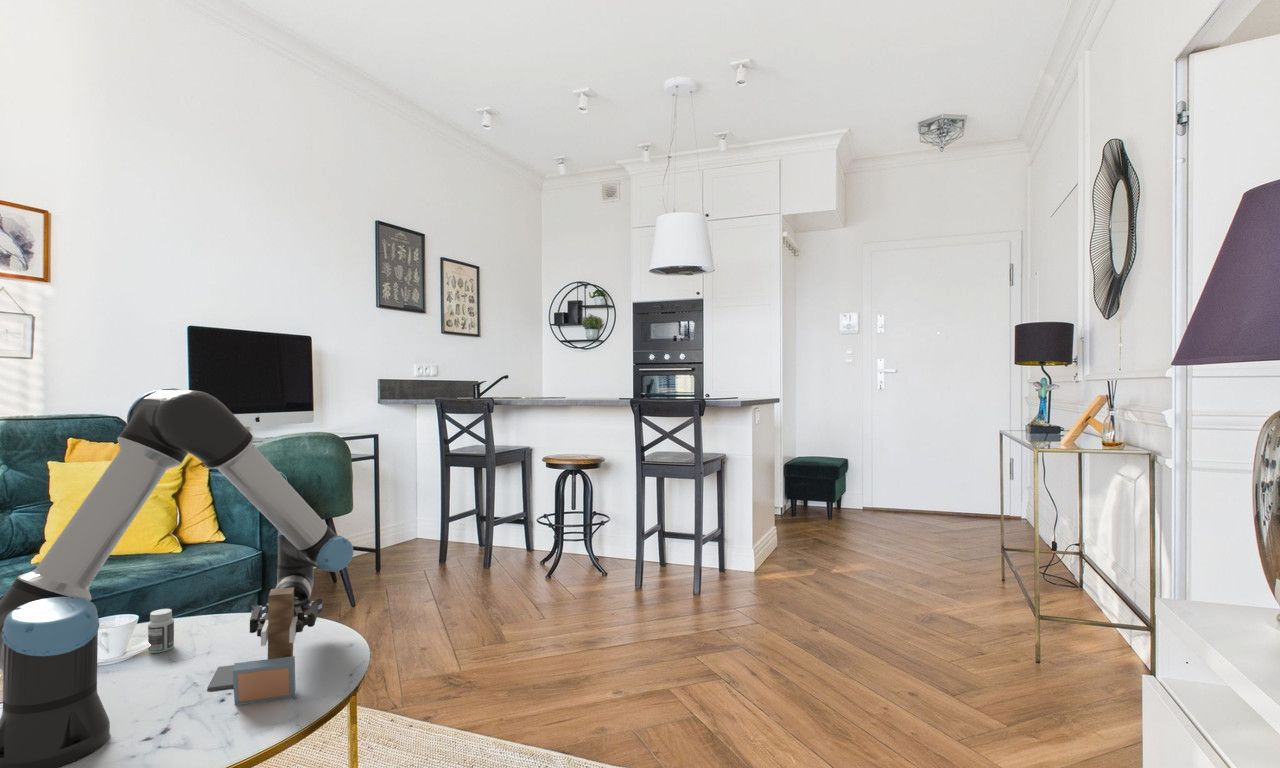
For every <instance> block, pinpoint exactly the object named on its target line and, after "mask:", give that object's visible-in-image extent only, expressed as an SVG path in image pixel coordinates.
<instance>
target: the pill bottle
mask: <svg viewBox="0 0 1280 768" xmlns="http://www.w3.org/2000/svg"><path fill="white" fill-rule="evenodd" d="M147 637H148V639H147V641H148V642H149V643H150V644H151V646H150V647H149V648H148V647H147V651H148V652H149V653H152V654H158V653H163V652H164V653H165V652H168V651H170V650H172V649H173V648H174V647H175V646H174V645H175V619H174V618H173V610H172V608H171V609H170V608H161V609H157V610H152V611H151V612H150V614H149V622H148V624H147Z"/></svg>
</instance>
